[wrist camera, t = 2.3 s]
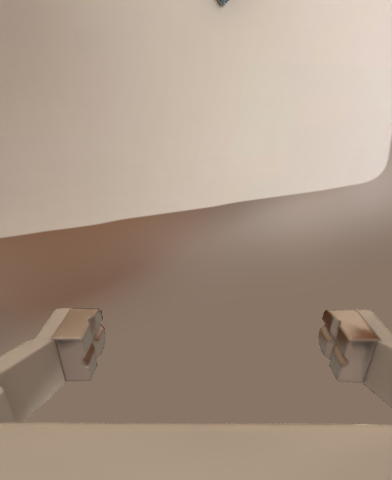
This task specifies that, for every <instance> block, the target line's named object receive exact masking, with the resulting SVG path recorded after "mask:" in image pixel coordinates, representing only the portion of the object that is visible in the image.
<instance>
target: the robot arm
mask: <svg viewBox="0 0 392 480" xmlns="http://www.w3.org/2000/svg"><path fill="white" fill-rule="evenodd" d="M102 319H103V316H102V311H101V310H100V309H85V308H84V309H83V308H58V309H56V310H55V311H54V313H53V314H52V315H51V317H50V318H49V319H48V321H47V322H46V324H45V325H44V326H43V328H42V329H41V331H40V332H39V333H38V335H37V336H36V337H35V339H34V340H28V341H26V342H25V343H23V344H21V345H19V346H18V347H16V348H14V349H12V350H11V351H9V352H8V353H6V354H4V355H2V356H0V480H392V424H244V423H242V424H241V423H239V424H238V423H234V424H233V423H227V424H225V423H23V422H24V421H25V420H27V419H28V418H29V417H30V416H31V415H32V414H33V413H34V412H35V411H36V410H37V409H38V408H39V407H40V406H41V405H43V404H44V403H45V402H46V401H47V400H48V399H49V398H50V397H51V396H52V395H53V394H54V393H55V392H56V391H57V390H59V389H60V388H61V387H62V386H63V385H64V384H65V383H66V382H65V381H91V380H92V377H93V375H94V372H95V370H96V367H97V359H96V358H98V357H99V356H100V355H101V354H102V352H103V349H104V344H105V328H104V327H103V326H102V325H101V321H102ZM322 319H323V321H324V323H325V325H324V326H322V327H321V328H320V331H319V345H320V348H321V351H322V352H323V355H324V356H326V357H327V358H328V359H330V360H331V361H330V365H329V366H330V368H331V370H332V372H333V374H334V376H335V377H336V379H337V381H338V382H356V383H357V382H358V383H364V385H365V386H366V387H368V388H369V389H370V390H371V391H372V392H373V393H374V394H376V395H377V396H378V397H379V398H380V399H382V400H383V401H384V402H385V403H386V404H387V405H389V406H390V407H391V408H392V333H391V332H390V331H389V330H388V329H387V328H386V326H385V325H384V324H383V323H382V322H381V321H380V320H379V319H378V318H377V316H376V315H375V314H374V313H373V312H372V311H371V310H369V309H359V310H358V309H356V310H326V311H325V312H324V314H323V318H322Z"/></svg>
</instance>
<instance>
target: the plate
mask: <svg viewBox="0 0 392 480" xmlns="http://www.w3.org/2000/svg"><path fill="white" fill-rule="evenodd" d="M228 1H229V0H218V2H219V4H220V5H221V7H223V6H224V5H225V4H226V3H227V2H228Z"/></svg>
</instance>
